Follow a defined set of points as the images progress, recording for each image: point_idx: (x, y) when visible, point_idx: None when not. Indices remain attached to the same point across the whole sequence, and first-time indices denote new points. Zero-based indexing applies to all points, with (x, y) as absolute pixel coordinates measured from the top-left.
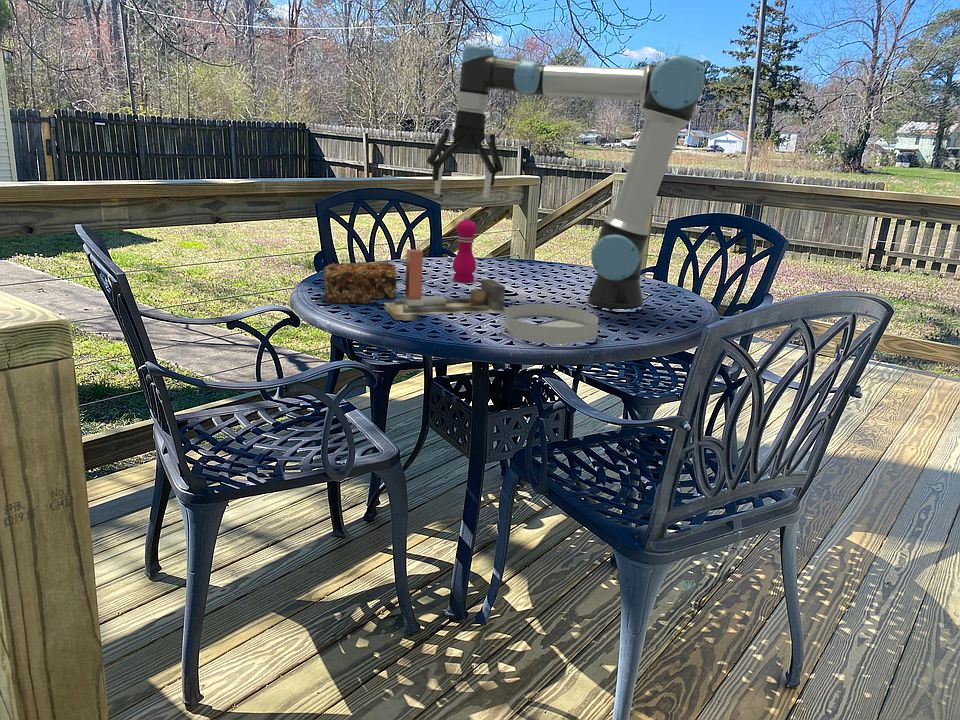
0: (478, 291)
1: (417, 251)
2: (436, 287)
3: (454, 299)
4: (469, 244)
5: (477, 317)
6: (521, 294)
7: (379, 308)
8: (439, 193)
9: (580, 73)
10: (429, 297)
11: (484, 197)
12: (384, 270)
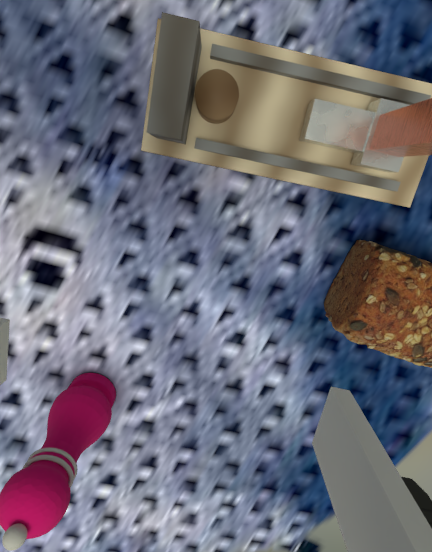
0: (221, 85)
1: None
2: (186, 350)
3: (257, 151)
4: (52, 444)
5: None
6: (15, 235)
7: (408, 211)
8: (336, 390)
9: None
10: (346, 129)
11: (6, 350)
12: (414, 273)
